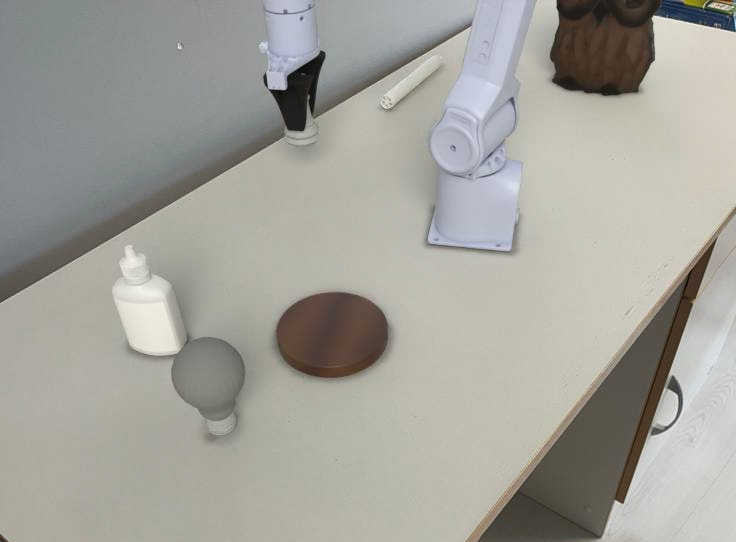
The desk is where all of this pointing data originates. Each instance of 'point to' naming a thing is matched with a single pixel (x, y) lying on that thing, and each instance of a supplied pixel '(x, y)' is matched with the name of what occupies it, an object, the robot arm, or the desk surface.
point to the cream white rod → (411, 81)
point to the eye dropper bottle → (147, 308)
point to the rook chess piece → (303, 132)
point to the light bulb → (210, 380)
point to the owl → (603, 45)
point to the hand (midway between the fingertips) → (300, 121)
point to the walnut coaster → (332, 334)
